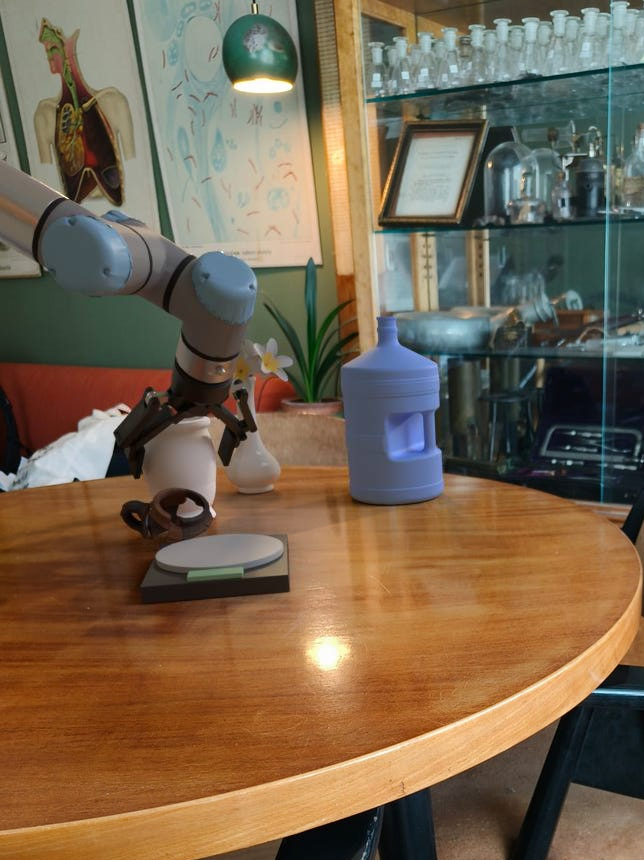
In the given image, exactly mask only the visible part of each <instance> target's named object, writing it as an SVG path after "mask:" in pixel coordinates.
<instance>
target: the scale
mask: <svg viewBox="0 0 644 860" xmlns="http://www.w3.org/2000/svg"><path fill="white" fill-rule="evenodd" d="M139 591H140V595H141V603H142V604H143V605H148V604H160V603H171V602H172V603H173V602H182V601H193V600H194V601H195V600H206V599H216V598H217V599H218V598H229V597H239V596H250V595H251V596H253V595H263V594H274V593H275V594H276V593H285V592H286V593H287V592H291V578H290V546H289V537H288V533H283V534H269V535H268V534H267V535H264V534H263V535H262V534H256V533H227V534H226V533H225V534H213V535H206V536H199V537H194V538H192V539H189V540H185V541H181V542H173V543H166V542H162V543H160V545H159V548H158V550H157V552H156V553H155V555H154V557H153V560H152V561H151V564H150V565H149V568H148V570H147V572H146V574H145V576H144V578H143V580H142V582H141V584H140V586H139Z"/></svg>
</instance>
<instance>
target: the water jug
mask: <svg viewBox="0 0 644 860" xmlns="http://www.w3.org/2000/svg"><path fill="white" fill-rule="evenodd" d="M375 319H376V321H377V328H376V332H377V343H376V344H375V346H373V347H371V348H370V349H368V350H367V351H365V352H363V353H362V354H359V356H357V357H355V358H353V359H351V360H350V361H348V362H346V363H345V364H343V365H341V368H340V377H341V378H340V389H341V394H342V401H343V402H342V403H343V414H344V416H343V417H344V429H345V430H344V439H345V446H346V452H347V464H348V477H349V481H348V489H349V495H350V496H351V497H352V498H353V500H355V501H357V502H360V503H364V504H370V505H382V506H384V505H386V506H390V505H391V506H394V505H396V506H397V505H407V504H408V505H409V504H417V503H422V502H427V501H430V500H434V499H436V498H438V497H439V496H441V495H442V494H443V492H444V490H445V482H444V481H445V480H444V476H443V459H442V458H443V456H442V455H443V453H442V450H441V449H440V448H439V447H437V446H436V445H437V444H436V422H435V420H436V419H435V413H436V411H437V410H438V409H439V408H440V406H441V405H440V389H441V388H440V375H439V366H438V363H436V362H435V361H433V360H432V359H430V358H428V357H425V356H424V355H421V354H420V353H417V352H415V351H413V350H411V349H409V348H407V347H406V346H403V345H401V344H400V343H399V340H398V326H397V319H398V317H397V316H396V315H394V316H393V315H392V316H391V315H390V316H376V317H375Z"/></svg>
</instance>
